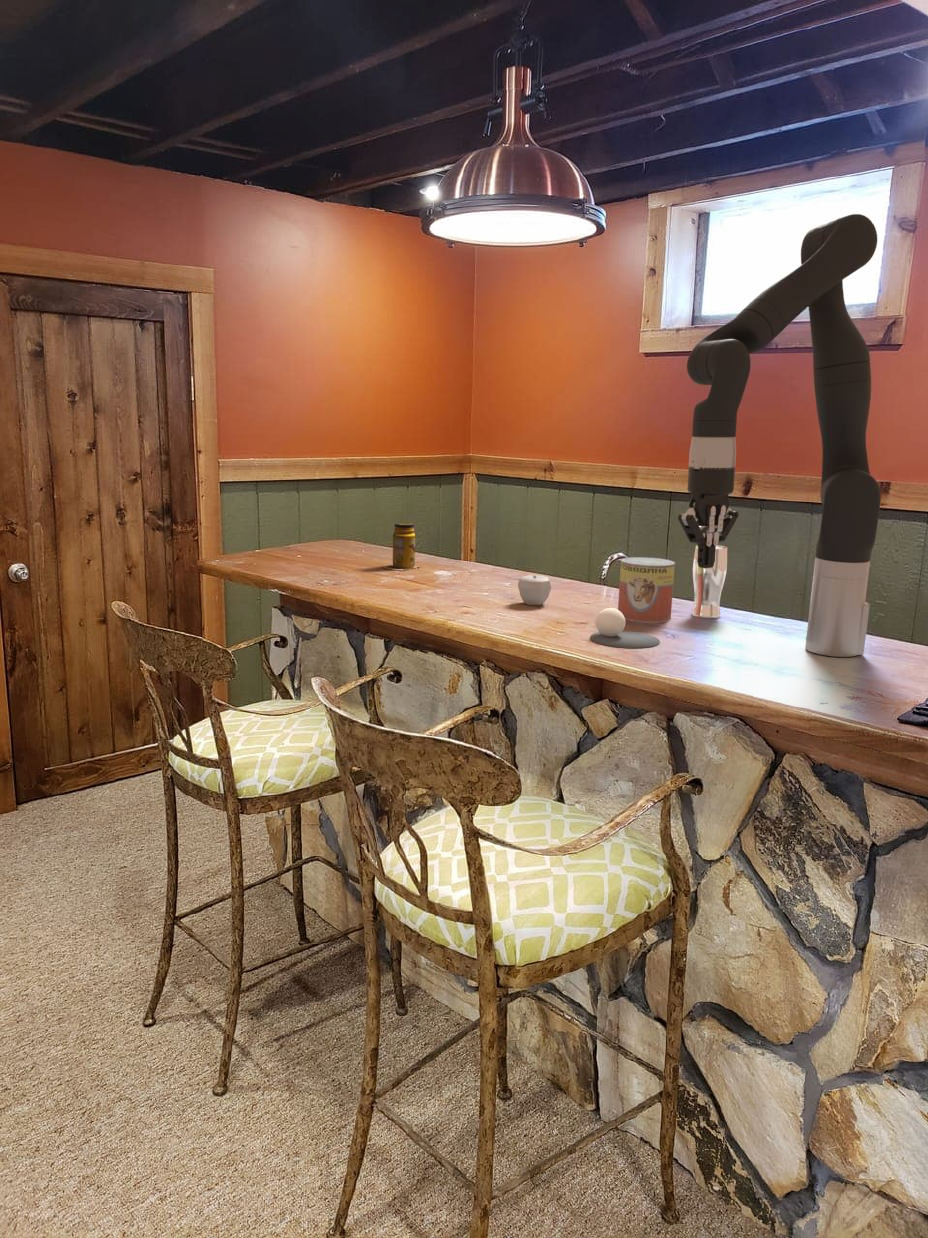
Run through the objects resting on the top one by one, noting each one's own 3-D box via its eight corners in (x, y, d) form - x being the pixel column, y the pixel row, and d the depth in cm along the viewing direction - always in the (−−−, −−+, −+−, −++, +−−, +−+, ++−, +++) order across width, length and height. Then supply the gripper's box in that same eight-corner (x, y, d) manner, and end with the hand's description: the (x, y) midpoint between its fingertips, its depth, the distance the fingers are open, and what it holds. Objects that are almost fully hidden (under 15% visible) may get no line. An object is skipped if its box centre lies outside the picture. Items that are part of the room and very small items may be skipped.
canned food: (612, 619, 191) (616, 562, 188) (622, 609, 201) (625, 555, 198) (667, 625, 187) (671, 567, 184) (674, 614, 197) (678, 559, 195)
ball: (634, 627, 175) (613, 619, 180) (626, 605, 172) (604, 599, 176) (616, 646, 173) (595, 638, 178) (607, 625, 170) (586, 617, 174)
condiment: (421, 568, 249) (422, 524, 246) (397, 571, 243) (398, 526, 240) (404, 564, 254) (404, 521, 251) (380, 567, 248) (380, 523, 245)
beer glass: (697, 610, 202) (703, 543, 198) (727, 615, 197) (733, 546, 194) (683, 615, 196) (689, 546, 193) (713, 620, 192) (720, 549, 189)
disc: (649, 632, 180) (649, 631, 180) (667, 648, 167) (667, 647, 167) (584, 631, 179) (584, 630, 179) (597, 648, 167) (597, 646, 167)
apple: (510, 601, 207) (511, 572, 205) (541, 599, 209) (543, 571, 208) (524, 608, 199) (526, 579, 198) (557, 606, 202) (558, 577, 201)
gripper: (720, 463, 159) (714, 561, 163) (667, 464, 152) (662, 567, 155) (756, 464, 153) (748, 567, 157) (702, 466, 146) (696, 574, 149)
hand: (705, 567), depth 156 cm, fingers closed
